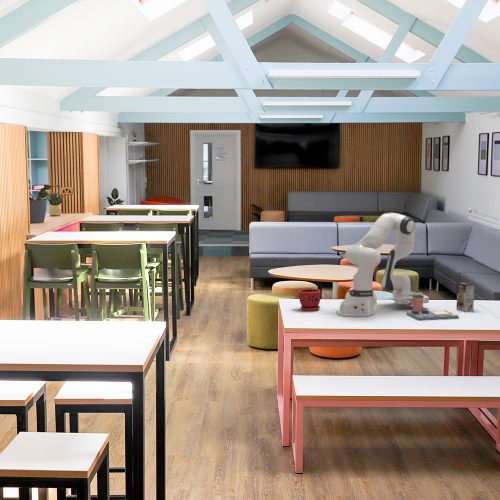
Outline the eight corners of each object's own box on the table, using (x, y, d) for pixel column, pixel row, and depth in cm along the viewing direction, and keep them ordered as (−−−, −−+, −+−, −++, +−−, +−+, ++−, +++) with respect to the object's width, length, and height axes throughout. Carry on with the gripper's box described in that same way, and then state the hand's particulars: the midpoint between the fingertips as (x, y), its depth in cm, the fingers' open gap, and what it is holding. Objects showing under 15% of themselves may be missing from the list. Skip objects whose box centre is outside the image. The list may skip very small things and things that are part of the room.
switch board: (418, 320, 432) (418, 314, 431) (406, 314, 448) (406, 309, 448) (458, 318, 436) (458, 312, 436) (445, 312, 453) (445, 307, 453)
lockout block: (415, 312, 455) (415, 295, 454) (411, 311, 460) (412, 294, 458) (423, 312, 456) (423, 295, 455) (419, 310, 460) (420, 294, 459)
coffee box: (455, 309, 464) (456, 282, 463) (465, 308, 466) (465, 281, 465) (464, 311, 456) (465, 284, 454) (474, 311, 458) (474, 284, 456)
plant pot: (320, 307, 473) (320, 288, 471) (320, 312, 460) (320, 292, 458) (299, 307, 474) (299, 288, 473) (298, 311, 461) (298, 291, 460)
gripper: (391, 293, 469) (400, 297, 456) (423, 292, 473) (432, 296, 460) (391, 304, 470) (400, 308, 457) (423, 302, 474) (432, 306, 460)
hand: (416, 302), depth 458 cm, fingers open, 8 cm apart
